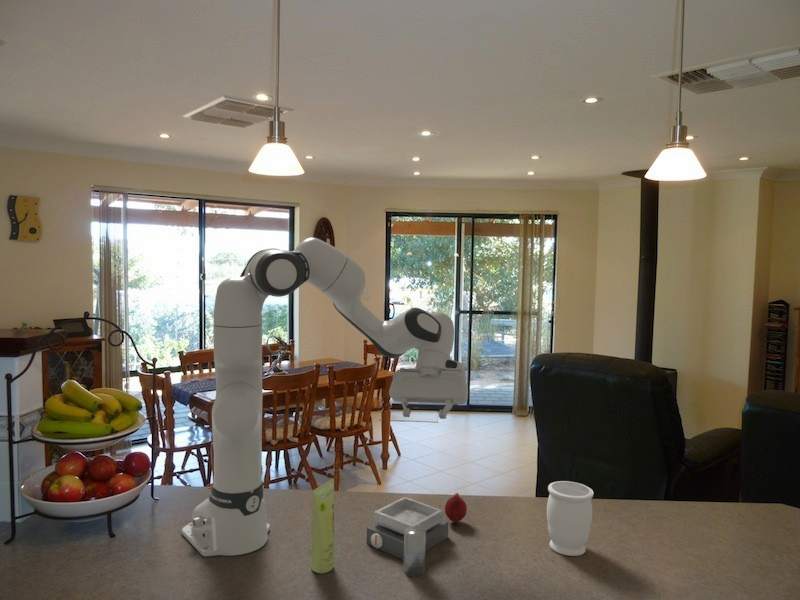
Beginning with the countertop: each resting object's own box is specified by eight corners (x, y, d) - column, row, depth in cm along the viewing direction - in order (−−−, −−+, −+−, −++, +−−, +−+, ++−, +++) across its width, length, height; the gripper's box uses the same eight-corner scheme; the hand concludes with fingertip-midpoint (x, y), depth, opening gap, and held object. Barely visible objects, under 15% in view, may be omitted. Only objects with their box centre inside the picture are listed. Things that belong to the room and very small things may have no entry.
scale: (364, 544, 141) (364, 528, 141) (406, 521, 155) (407, 506, 154) (406, 563, 133) (407, 546, 133) (447, 537, 146) (448, 521, 146)
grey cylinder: (398, 571, 130) (400, 532, 129) (411, 562, 134) (413, 524, 133) (416, 579, 127) (417, 539, 126) (428, 570, 131) (430, 531, 130)
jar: (592, 544, 145) (595, 485, 144) (587, 563, 136) (590, 501, 135) (549, 534, 150) (552, 477, 148) (541, 552, 140) (544, 491, 139)
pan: (374, 522, 143) (374, 511, 143) (404, 507, 152) (404, 496, 152) (412, 538, 135) (413, 527, 135) (442, 521, 145) (442, 510, 145)
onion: (465, 528, 151) (466, 499, 151) (443, 526, 152) (444, 496, 152) (467, 519, 157) (468, 490, 156) (445, 516, 158) (446, 487, 157)
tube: (335, 574, 128) (336, 488, 127) (311, 576, 127) (313, 489, 125) (332, 561, 134) (333, 478, 132) (309, 563, 132) (311, 479, 131)
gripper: (391, 362, 154) (381, 409, 146) (467, 363, 148) (461, 412, 140) (398, 374, 159) (388, 420, 151) (472, 375, 153) (465, 424, 145)
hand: (423, 416), depth 145 cm, fingers open, 8 cm apart
